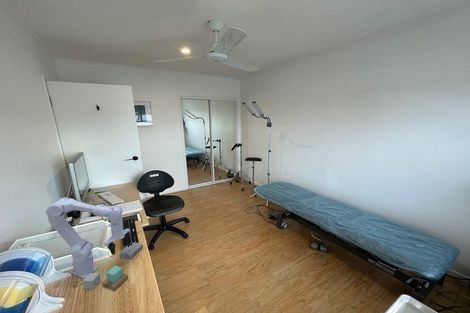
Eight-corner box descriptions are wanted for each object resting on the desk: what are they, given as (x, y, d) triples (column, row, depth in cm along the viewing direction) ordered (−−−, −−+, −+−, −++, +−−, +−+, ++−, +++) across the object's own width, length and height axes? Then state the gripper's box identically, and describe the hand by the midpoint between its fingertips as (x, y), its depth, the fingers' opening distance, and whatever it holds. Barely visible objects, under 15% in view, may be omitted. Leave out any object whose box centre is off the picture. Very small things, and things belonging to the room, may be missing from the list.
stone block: (118, 260, 116) (132, 259, 115) (116, 253, 116) (130, 252, 114) (131, 248, 128) (144, 247, 126) (130, 242, 127) (143, 241, 125)
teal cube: (107, 280, 96) (106, 272, 95) (115, 273, 101) (114, 265, 100) (114, 283, 95) (113, 275, 94) (123, 275, 100) (122, 267, 99)
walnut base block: (102, 287, 96) (102, 282, 96) (116, 275, 104) (116, 270, 103) (114, 291, 94) (113, 286, 93) (127, 279, 101) (127, 274, 101)
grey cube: (83, 289, 95) (82, 280, 94) (91, 280, 99) (90, 272, 98) (93, 289, 94) (91, 281, 93) (100, 281, 99) (99, 273, 98)
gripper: (110, 237, 98) (112, 260, 100) (133, 223, 111) (135, 243, 114) (100, 234, 100) (103, 256, 102) (124, 220, 113) (126, 241, 116)
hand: (119, 249), depth 108 cm, fingers open, 7 cm apart
